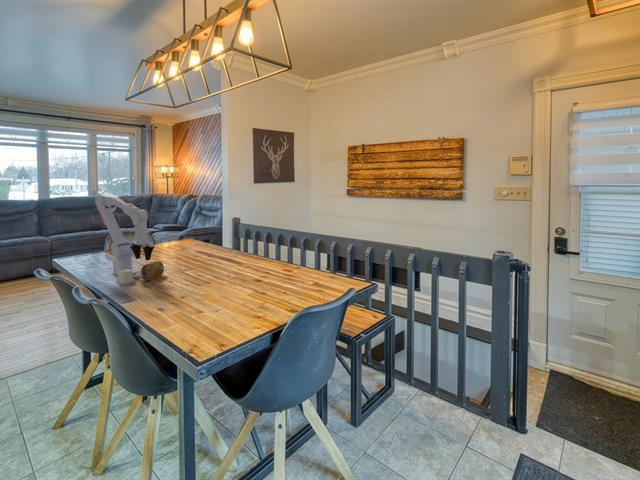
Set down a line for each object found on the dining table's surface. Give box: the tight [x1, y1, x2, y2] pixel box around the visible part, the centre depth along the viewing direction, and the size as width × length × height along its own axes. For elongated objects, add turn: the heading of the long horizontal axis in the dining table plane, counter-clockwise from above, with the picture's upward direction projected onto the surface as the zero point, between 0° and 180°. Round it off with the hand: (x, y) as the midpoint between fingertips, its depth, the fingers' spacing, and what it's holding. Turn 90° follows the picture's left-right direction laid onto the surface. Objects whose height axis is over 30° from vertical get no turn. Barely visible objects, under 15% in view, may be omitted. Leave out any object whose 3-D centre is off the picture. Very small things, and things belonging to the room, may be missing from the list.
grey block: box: [116, 269, 135, 285], centre depth 177 cm, size 5×5×6 cm
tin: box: [140, 260, 165, 281], centre depth 184 cm, size 15×3×8 cm, turn 168°
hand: (143, 259), depth 186 cm, fingers open, 7 cm apart
